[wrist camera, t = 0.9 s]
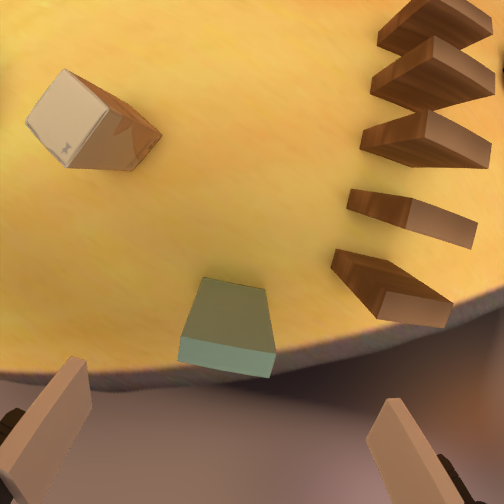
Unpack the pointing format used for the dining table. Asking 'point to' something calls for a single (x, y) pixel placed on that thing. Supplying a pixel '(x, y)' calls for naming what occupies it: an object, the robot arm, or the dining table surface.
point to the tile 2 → (414, 216)
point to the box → (90, 126)
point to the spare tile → (229, 330)
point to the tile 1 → (391, 290)
